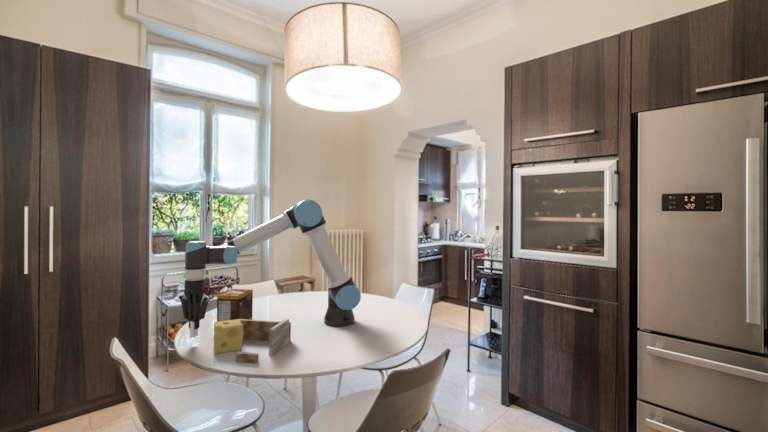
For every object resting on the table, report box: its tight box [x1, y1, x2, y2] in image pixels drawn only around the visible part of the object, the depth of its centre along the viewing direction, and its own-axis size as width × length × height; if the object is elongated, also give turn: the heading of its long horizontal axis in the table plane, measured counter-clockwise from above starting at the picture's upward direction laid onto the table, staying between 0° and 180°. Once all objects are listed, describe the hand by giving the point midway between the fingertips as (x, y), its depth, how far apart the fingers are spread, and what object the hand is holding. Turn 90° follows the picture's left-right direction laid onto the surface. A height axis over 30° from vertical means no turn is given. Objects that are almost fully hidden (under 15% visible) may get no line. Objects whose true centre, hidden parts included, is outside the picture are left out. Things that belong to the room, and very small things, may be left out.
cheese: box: [213, 319, 244, 355], centre depth 143 cm, size 10×11×10 cm
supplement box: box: [216, 288, 254, 322], centre depth 174 cm, size 10×15×16 cm
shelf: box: [235, 318, 292, 364], centre depth 142 cm, size 24×24×10 cm
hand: (193, 336), depth 146 cm, fingers closed
